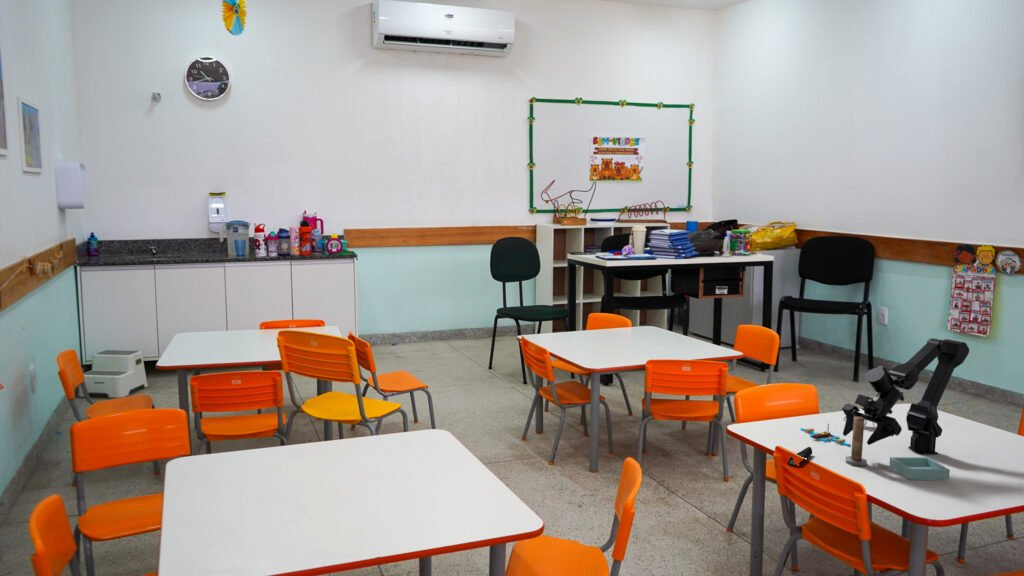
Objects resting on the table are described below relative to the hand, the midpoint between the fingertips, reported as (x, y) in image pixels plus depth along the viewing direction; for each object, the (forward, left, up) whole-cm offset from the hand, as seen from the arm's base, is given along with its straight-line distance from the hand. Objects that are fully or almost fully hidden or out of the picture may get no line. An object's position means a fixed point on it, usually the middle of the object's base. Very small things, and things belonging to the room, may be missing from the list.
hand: (855, 439), depth 234 cm
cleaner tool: (-1, 0, -8) cm, 8 cm away
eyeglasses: (-23, -39, -8) cm, 46 cm away
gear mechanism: (-2, -25, -9) cm, 27 cm away
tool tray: (-16, +8, -8) cm, 19 cm away
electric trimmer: (+16, -3, -8) cm, 18 cm away
